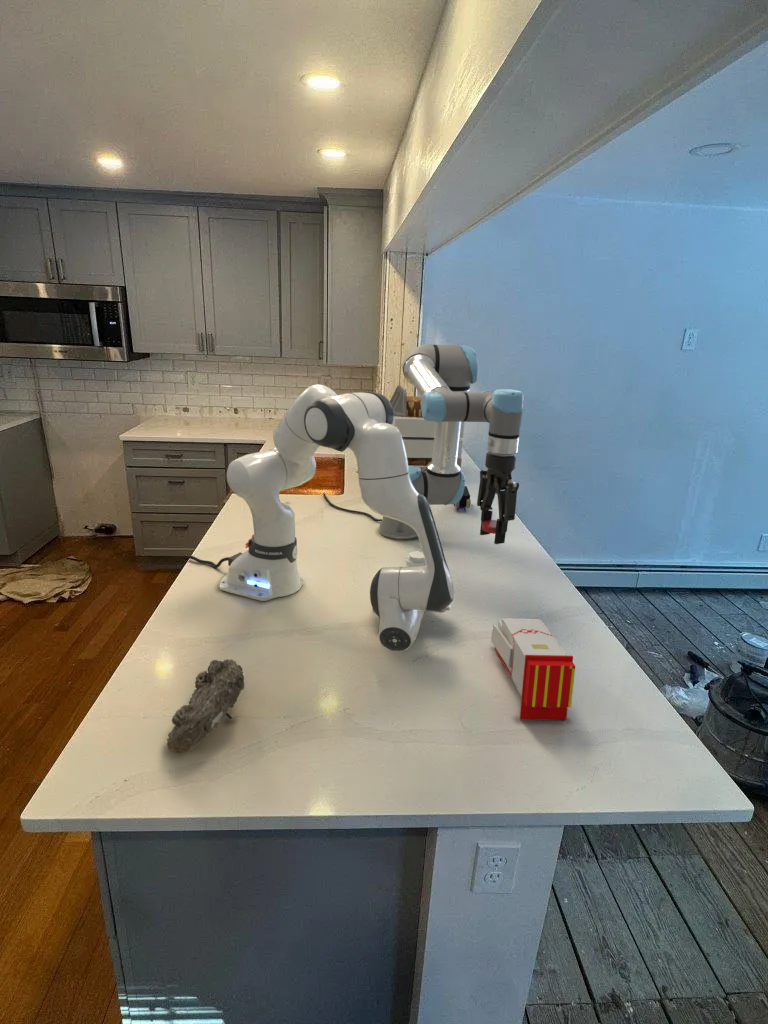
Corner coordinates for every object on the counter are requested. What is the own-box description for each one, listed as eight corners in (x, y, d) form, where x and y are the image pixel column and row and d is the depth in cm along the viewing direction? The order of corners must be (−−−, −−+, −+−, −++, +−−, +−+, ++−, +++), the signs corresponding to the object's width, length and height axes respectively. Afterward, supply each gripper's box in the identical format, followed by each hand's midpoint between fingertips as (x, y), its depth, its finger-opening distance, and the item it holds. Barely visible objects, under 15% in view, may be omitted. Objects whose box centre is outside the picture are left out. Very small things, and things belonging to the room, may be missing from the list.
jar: (405, 610, 149) (408, 559, 144) (402, 600, 154) (405, 550, 149) (426, 610, 150) (429, 558, 145) (421, 600, 155) (425, 550, 150)
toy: (537, 603, 136) (584, 662, 106) (532, 655, 138) (577, 726, 109) (487, 602, 135) (520, 661, 106) (483, 654, 138) (514, 725, 109)
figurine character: (470, 516, 223) (465, 500, 237) (473, 499, 220) (467, 484, 233) (453, 516, 223) (449, 500, 236) (455, 498, 220) (451, 483, 233)
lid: (497, 524, 152) (497, 518, 152) (508, 532, 147) (509, 526, 146) (477, 526, 150) (477, 520, 150) (488, 534, 145) (489, 528, 144)
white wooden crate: (382, 463, 289) (386, 382, 275) (445, 464, 293) (451, 384, 279) (390, 482, 257) (394, 392, 243) (460, 483, 261) (468, 394, 247)
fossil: (192, 660, 117) (244, 628, 112) (224, 691, 120) (276, 661, 115) (142, 746, 98) (202, 712, 93) (182, 779, 101) (242, 748, 96)
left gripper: (450, 600, 135) (455, 575, 148) (367, 588, 139) (379, 565, 151) (448, 623, 137) (453, 596, 150) (366, 611, 141) (378, 586, 154)
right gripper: (468, 445, 148) (460, 528, 156) (512, 463, 132) (501, 554, 140) (492, 443, 151) (483, 524, 159) (538, 461, 135) (526, 550, 143)
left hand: (415, 581), depth 151 cm, fingers closed on jar, 5 cm apart
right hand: (491, 538), depth 149 cm, fingers closed on lid, 6 cm apart
